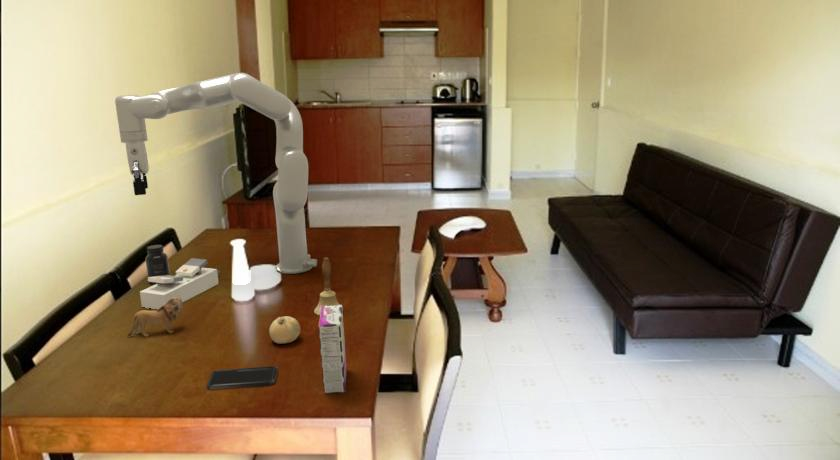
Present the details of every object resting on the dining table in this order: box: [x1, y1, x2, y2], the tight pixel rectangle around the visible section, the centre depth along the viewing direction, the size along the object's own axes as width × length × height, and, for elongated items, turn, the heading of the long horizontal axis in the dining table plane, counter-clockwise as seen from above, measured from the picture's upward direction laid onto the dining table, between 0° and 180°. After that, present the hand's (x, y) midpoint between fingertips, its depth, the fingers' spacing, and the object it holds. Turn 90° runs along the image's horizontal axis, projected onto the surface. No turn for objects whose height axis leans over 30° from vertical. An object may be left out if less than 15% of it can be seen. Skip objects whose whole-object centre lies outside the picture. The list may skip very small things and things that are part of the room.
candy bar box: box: [318, 304, 348, 394], centre depth 145 cm, size 11×5×16 cm, turn 5°
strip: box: [139, 267, 221, 310], centre depth 205 cm, size 9×30×6 cm, turn 159°
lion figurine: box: [127, 297, 184, 338], centre depth 175 cm, size 15×5×9 cm, turn 116°
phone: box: [206, 365, 279, 390], centre depth 150 cm, size 8×1×15 cm
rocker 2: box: [175, 257, 209, 276], centre depth 206 cm, size 6×8×2 cm
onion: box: [268, 315, 301, 345], centre depth 168 cm, size 8×8×7 cm
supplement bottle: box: [145, 244, 171, 285], centre depth 214 cm, size 7×7×12 cm
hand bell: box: [313, 256, 344, 317], centre depth 186 cm, size 8×8×16 cm
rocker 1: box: [147, 274, 183, 284], centre depth 196 cm, size 6×8×2 cm
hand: (141, 191), depth 203 cm, fingers open, 9 cm apart
